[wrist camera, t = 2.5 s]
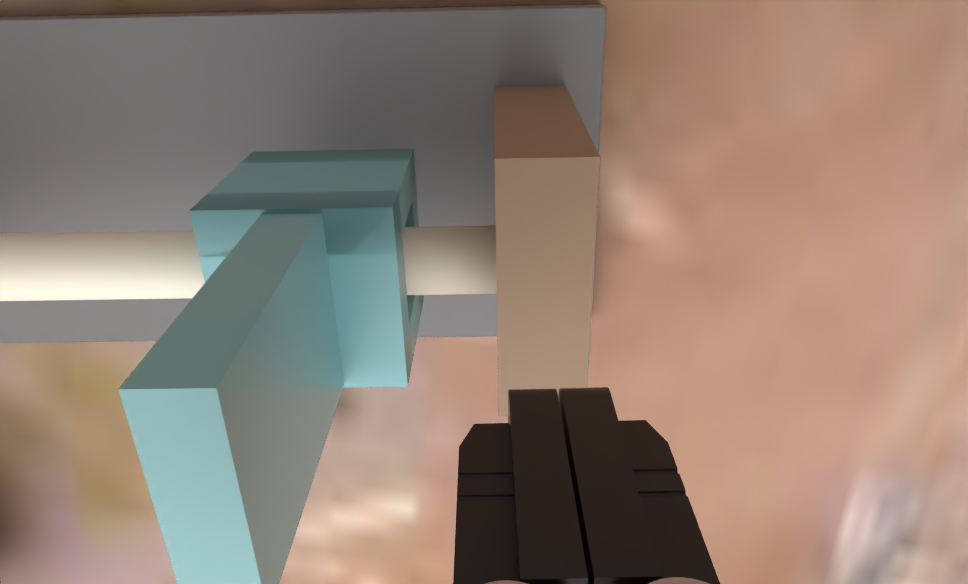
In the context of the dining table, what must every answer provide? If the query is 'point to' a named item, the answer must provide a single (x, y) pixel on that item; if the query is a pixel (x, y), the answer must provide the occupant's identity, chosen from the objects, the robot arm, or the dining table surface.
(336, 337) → the light blue bracket block
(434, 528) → the dining table surface
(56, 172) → the grey rod holder stand
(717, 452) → the dining table surface
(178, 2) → the dining table surface
